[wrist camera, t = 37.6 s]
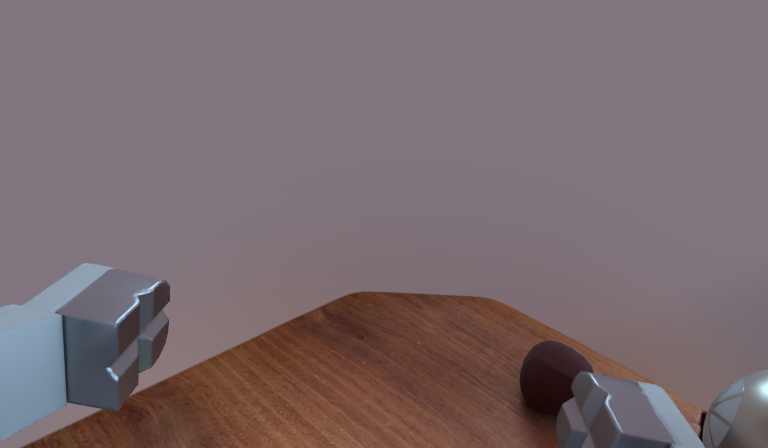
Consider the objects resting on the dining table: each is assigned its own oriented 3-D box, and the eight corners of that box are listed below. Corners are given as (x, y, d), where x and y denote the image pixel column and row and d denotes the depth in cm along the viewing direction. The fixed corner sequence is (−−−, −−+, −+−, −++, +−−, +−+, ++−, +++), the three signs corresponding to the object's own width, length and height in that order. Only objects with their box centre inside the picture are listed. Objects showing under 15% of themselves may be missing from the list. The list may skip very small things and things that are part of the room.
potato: (596, 407, 49) (620, 361, 46) (564, 446, 43) (589, 395, 40) (533, 365, 53) (552, 321, 51) (496, 395, 47) (515, 347, 45)
